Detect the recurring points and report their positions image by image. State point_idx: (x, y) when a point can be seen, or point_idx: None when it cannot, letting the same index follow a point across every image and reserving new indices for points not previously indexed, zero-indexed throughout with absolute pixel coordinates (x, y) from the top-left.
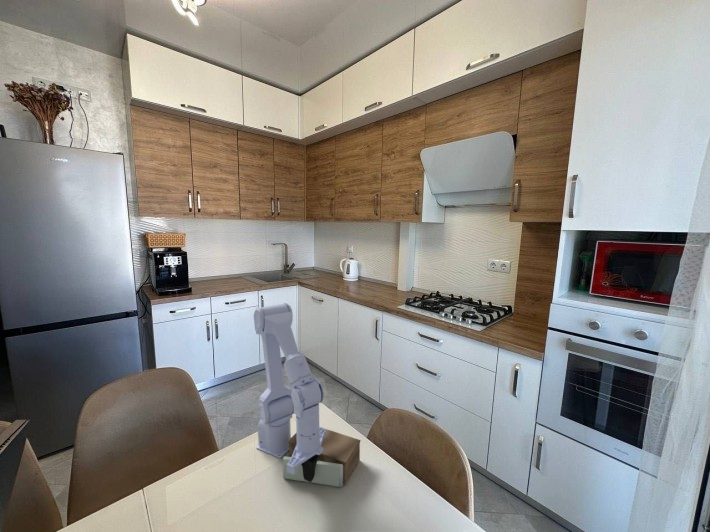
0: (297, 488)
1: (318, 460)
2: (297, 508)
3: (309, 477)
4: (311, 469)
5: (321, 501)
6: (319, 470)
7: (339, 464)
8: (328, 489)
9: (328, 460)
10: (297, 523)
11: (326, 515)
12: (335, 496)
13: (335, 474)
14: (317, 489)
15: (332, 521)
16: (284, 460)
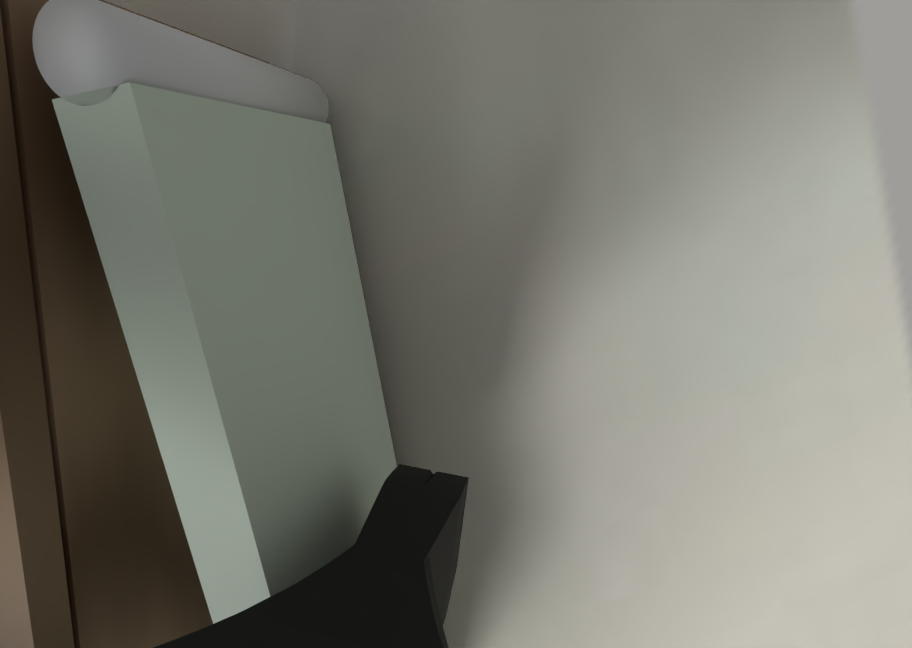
0: (492, 554)
1: (154, 519)
2: (712, 470)
3: (456, 532)
4: (435, 616)
5: (562, 259)
6: (305, 444)
7: (65, 98)
8: (393, 244)
9: (89, 377)
10: (891, 403)
11: (724, 123)
12: (450, 124)
13: (257, 169)
14: (435, 362)
15: (790, 9)
16: None
